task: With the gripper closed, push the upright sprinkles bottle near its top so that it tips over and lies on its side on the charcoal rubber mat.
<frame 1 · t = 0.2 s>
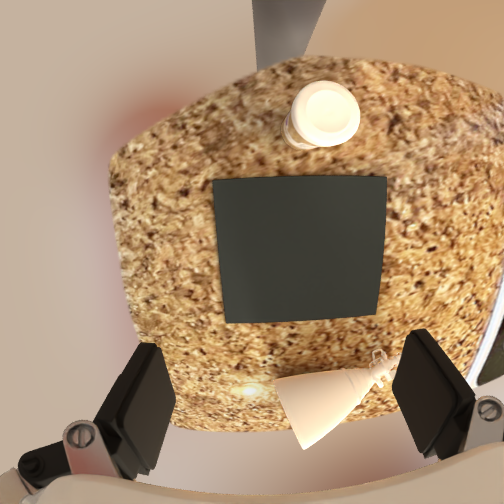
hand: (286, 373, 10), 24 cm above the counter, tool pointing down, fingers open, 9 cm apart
sprinkles bottle: (301, 131, 29), on the counter
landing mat: (304, 253, 33), on the counter
rocket engine: (336, 378, 39), on the counter
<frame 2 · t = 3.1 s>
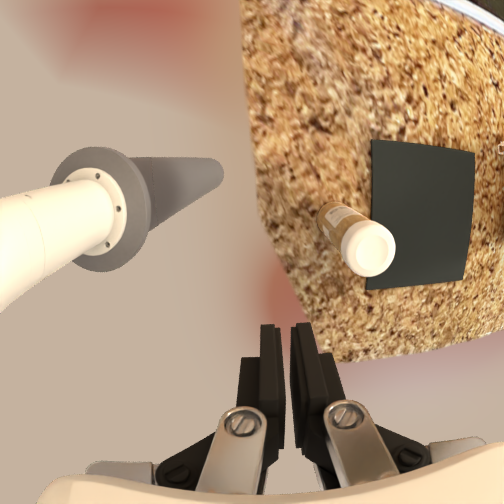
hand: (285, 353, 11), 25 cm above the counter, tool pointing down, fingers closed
sprinkles bottle: (333, 218, 34), on the counter
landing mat: (427, 217, 33), on the counter
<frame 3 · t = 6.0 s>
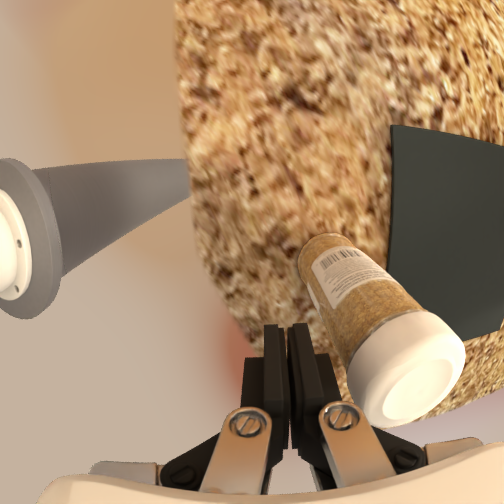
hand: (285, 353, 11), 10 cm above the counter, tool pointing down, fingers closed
sprinkles bottle: (326, 259, 21), on the counter, touching gripper
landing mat: (468, 251, 20), on the counter
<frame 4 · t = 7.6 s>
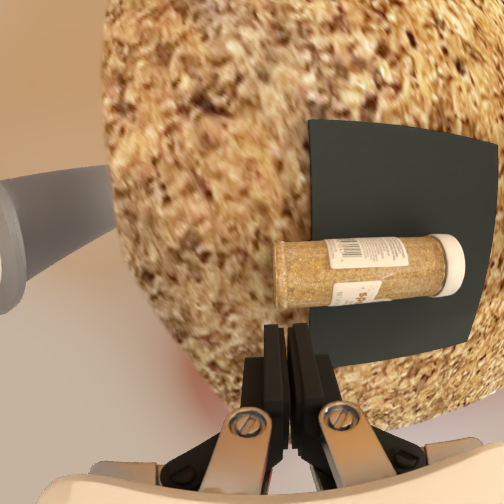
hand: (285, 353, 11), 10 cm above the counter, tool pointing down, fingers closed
sprinkles bottle: (269, 275, 18), point 2 cm above the counter, touching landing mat
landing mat: (417, 255, 20), on the counter
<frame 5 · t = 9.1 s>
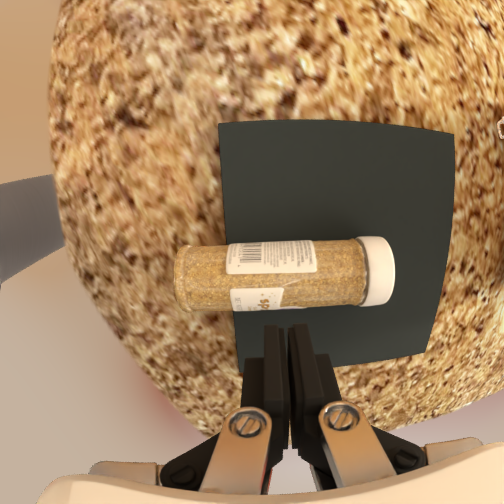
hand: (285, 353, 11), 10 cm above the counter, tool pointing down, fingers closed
sprinkles bottle: (179, 278, 18), point 2 cm above the counter, touching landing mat
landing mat: (351, 259, 20), on the counter
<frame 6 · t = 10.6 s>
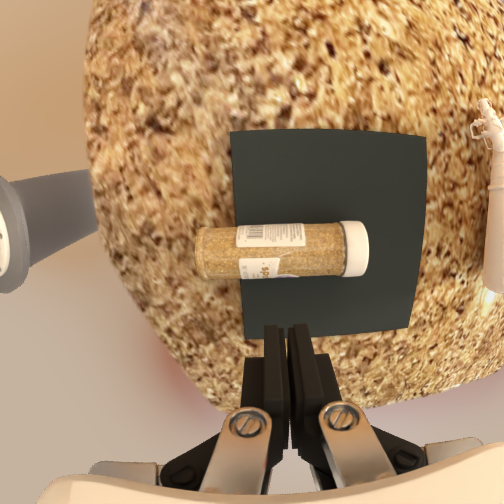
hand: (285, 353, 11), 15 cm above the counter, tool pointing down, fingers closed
sprinkles bottle: (198, 253, 24), point 2 cm above the counter, touching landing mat
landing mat: (337, 241, 25), on the counter
rocket engine: (499, 188, 22), on the counter
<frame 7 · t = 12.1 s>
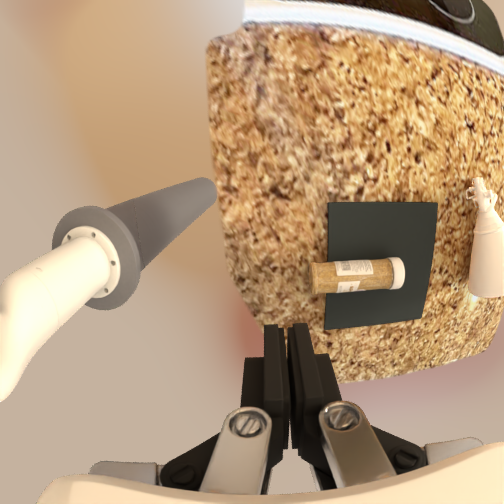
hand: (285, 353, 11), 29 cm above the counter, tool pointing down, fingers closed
sprinkles bottle: (308, 278, 38), point 2 cm above the counter, touching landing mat
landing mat: (383, 267, 40), on the counter
rocket engine: (481, 228, 37), on the counter
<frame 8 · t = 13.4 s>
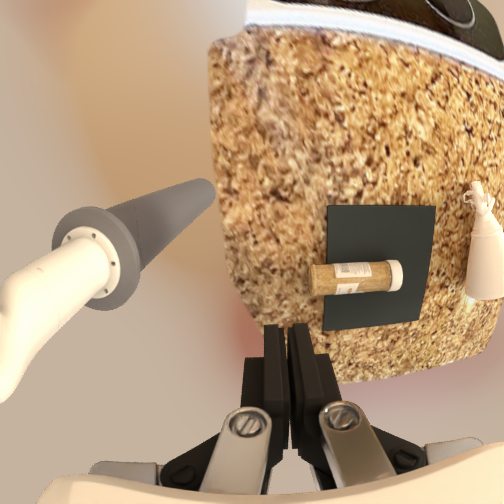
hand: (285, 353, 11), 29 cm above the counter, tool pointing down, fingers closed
sprinkles bottle: (307, 280, 39), point 2 cm above the counter, touching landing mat
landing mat: (381, 269, 40), on the counter
rocket engine: (479, 231, 38), on the counter
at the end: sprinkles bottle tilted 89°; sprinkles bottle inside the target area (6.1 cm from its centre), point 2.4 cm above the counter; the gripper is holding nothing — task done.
